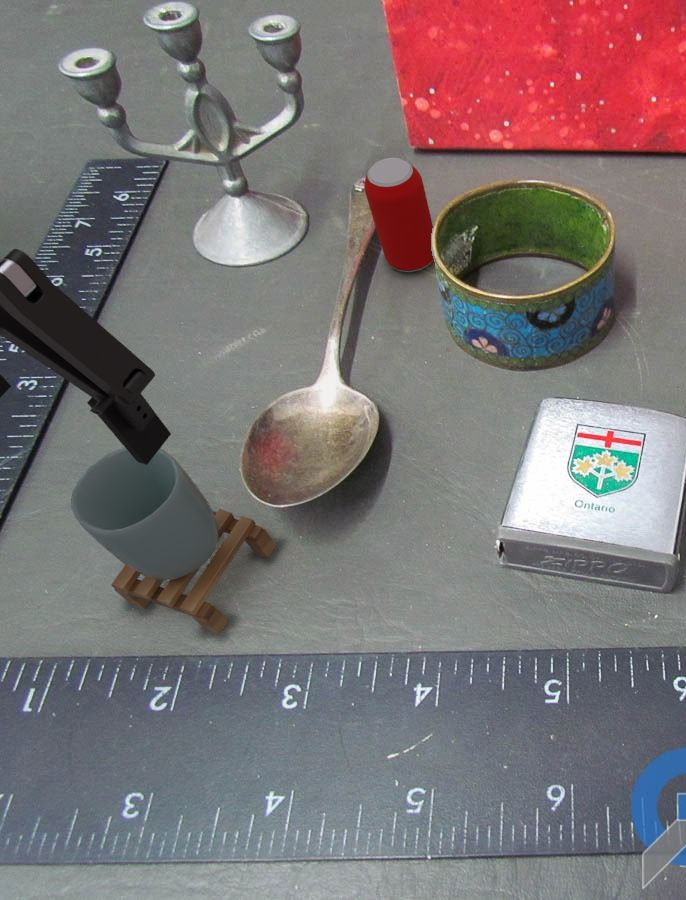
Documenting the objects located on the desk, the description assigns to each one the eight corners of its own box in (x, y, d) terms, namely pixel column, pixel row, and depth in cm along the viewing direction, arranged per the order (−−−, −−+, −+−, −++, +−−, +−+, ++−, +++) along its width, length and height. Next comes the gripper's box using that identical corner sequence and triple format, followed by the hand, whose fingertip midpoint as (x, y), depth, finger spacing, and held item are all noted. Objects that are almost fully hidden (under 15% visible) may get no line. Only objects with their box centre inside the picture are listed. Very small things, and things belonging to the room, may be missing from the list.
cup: (117, 555, 69) (49, 492, 61) (197, 494, 72) (143, 427, 64) (169, 611, 66) (104, 552, 58) (249, 545, 69) (200, 481, 61)
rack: (130, 604, 71) (104, 582, 67) (192, 518, 76) (170, 493, 72) (220, 635, 69) (198, 613, 66) (276, 545, 74) (259, 520, 70)
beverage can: (381, 276, 94) (353, 188, 84) (392, 239, 97) (367, 151, 88) (434, 277, 94) (412, 189, 84) (443, 241, 97) (424, 152, 87)
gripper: (-423, 158, 40) (-110, 419, 58) (-13, 268, 35) (193, 516, 53) (-286, 76, 44) (-32, 342, 62) (100, 165, 39) (256, 426, 57)
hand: (72, 423), depth 57 cm, fingers open, 13 cm apart
